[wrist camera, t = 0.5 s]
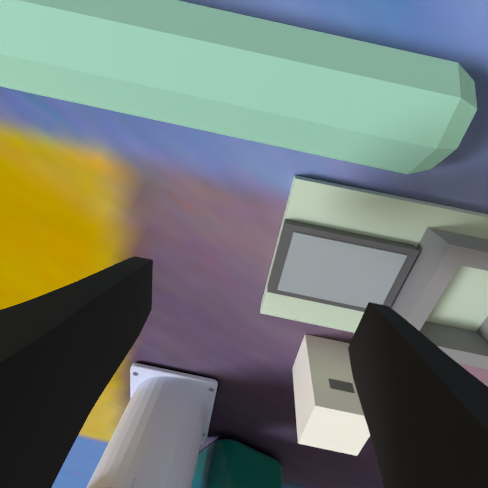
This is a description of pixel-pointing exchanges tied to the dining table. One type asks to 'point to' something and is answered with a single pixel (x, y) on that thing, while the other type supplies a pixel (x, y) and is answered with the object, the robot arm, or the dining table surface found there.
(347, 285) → the outlet plate
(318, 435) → the block
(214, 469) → the green bottle
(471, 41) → the dining table surface
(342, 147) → the container
